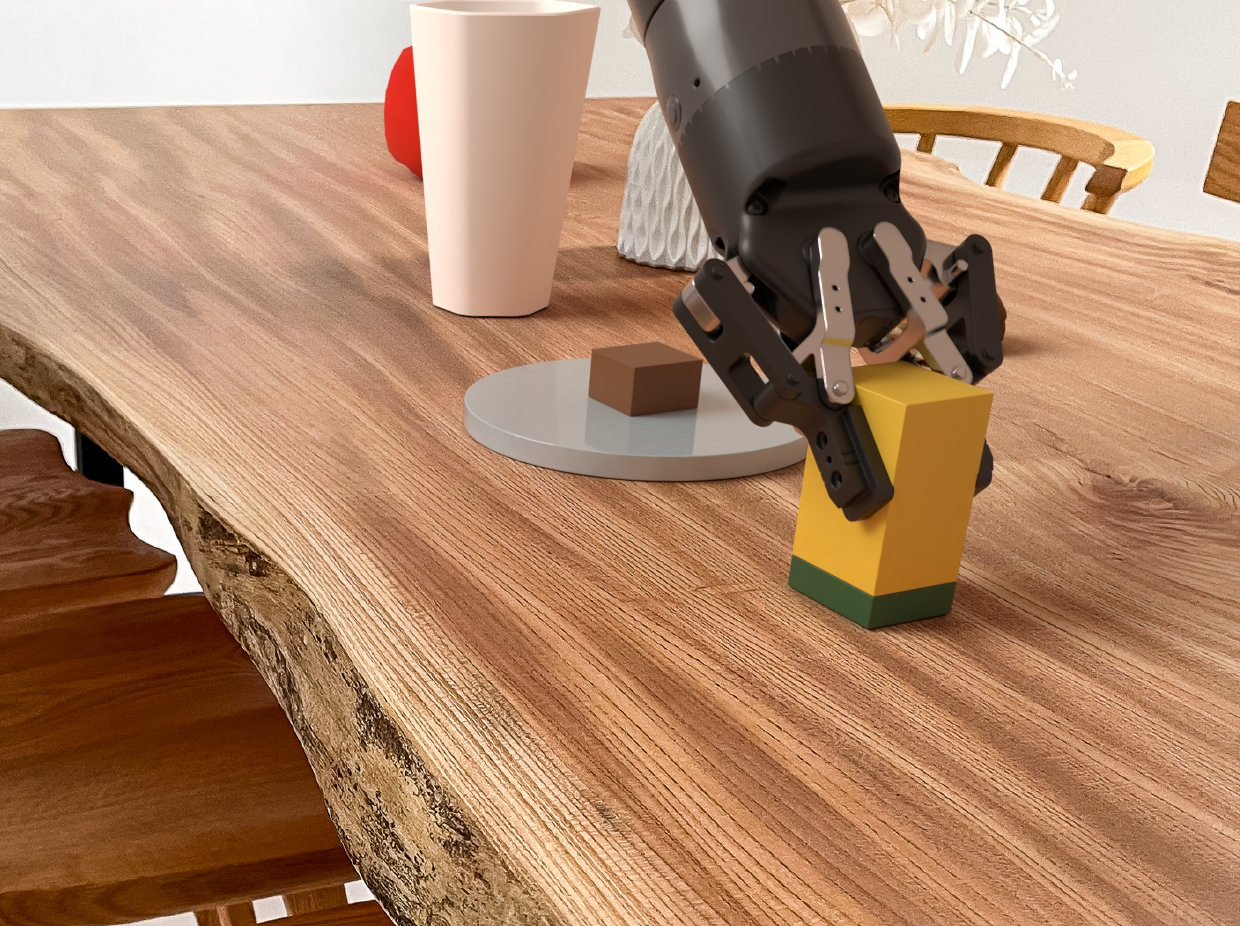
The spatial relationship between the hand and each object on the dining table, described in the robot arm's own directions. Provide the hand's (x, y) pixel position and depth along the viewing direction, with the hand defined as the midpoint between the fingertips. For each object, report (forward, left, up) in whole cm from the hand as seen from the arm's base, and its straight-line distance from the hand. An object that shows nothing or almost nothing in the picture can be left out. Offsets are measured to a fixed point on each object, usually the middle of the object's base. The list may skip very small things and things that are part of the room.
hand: (921, 501), depth 65 cm
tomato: (+5, -102, -5) cm, 102 cm away
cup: (+9, -53, -5) cm, 54 cm away
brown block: (+5, -26, -3) cm, 26 cm away
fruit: (-15, -42, -5) cm, 45 cm away
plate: (+5, -26, -5) cm, 27 cm away
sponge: (+1, -2, -5) cm, 5 cm away
